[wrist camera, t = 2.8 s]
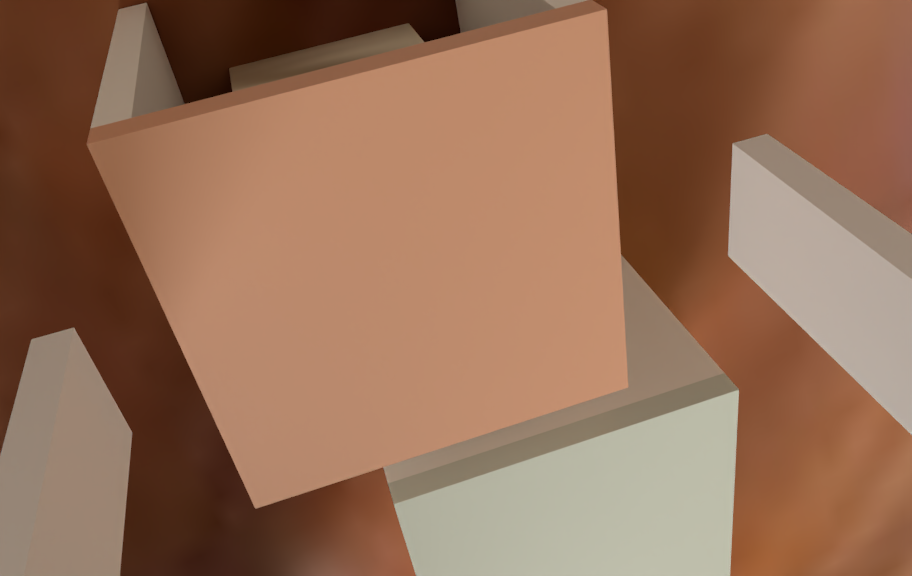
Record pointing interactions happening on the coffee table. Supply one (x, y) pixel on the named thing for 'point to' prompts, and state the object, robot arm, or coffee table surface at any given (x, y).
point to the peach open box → (379, 237)
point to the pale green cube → (590, 474)
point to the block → (322, 56)
